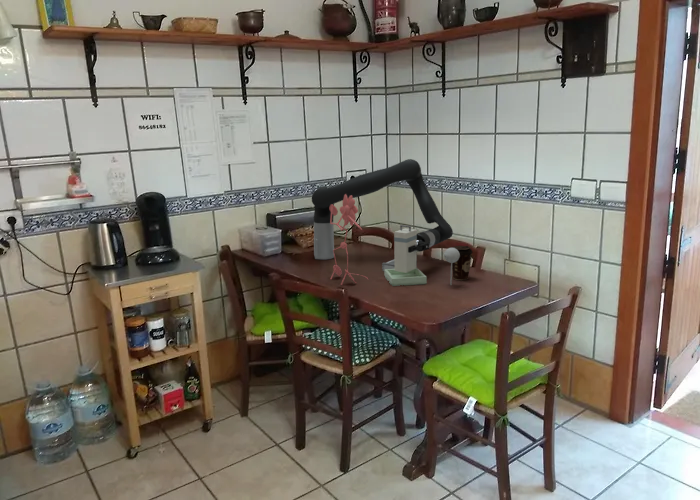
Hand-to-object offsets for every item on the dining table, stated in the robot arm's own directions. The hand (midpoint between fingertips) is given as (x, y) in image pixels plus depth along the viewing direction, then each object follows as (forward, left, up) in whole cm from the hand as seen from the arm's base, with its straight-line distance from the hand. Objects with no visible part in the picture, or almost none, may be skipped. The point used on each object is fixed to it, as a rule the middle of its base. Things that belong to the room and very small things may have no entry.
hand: (402, 249), depth 217 cm
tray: (+2, +2, -13) cm, 14 cm away
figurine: (-20, +7, -14) cm, 25 cm away
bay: (+3, +18, -13) cm, 22 cm away
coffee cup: (+25, 0, -14) cm, 28 cm away
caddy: (+2, +2, -9) cm, 9 cm away
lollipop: (+18, -8, -14) cm, 24 cm away
